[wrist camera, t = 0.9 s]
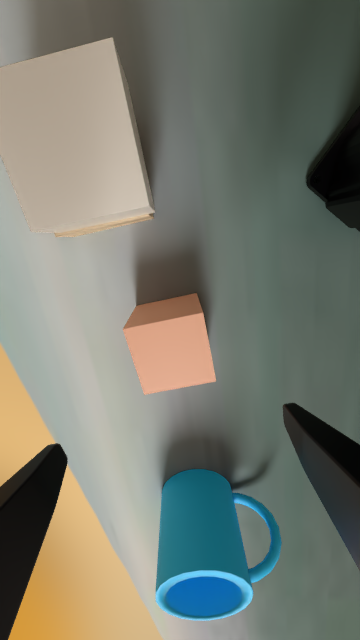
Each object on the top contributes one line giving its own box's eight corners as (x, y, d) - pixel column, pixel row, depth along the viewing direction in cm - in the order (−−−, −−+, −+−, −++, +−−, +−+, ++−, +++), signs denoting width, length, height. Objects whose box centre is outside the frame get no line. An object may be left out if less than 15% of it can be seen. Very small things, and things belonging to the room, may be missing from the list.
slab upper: (18, 113, 12) (-32, 75, 9) (128, 85, 12) (112, 37, 9) (60, 232, 14) (31, 231, 11) (155, 212, 14) (149, 205, 11)
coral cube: (136, 305, 19) (122, 329, 14) (196, 292, 18) (203, 312, 14) (152, 357, 20) (144, 394, 16) (207, 347, 20) (216, 381, 15)
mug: (167, 518, 28) (163, 623, 20) (156, 472, 25) (146, 574, 18) (264, 509, 28) (297, 613, 20) (264, 461, 25) (303, 562, 17)
